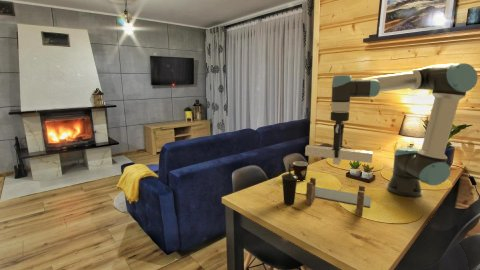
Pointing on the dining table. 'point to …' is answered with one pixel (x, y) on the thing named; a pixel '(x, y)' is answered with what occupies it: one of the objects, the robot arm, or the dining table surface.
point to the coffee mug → (300, 169)
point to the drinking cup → (289, 187)
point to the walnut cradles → (311, 195)
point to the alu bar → (344, 153)
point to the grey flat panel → (340, 196)
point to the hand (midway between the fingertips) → (336, 162)
